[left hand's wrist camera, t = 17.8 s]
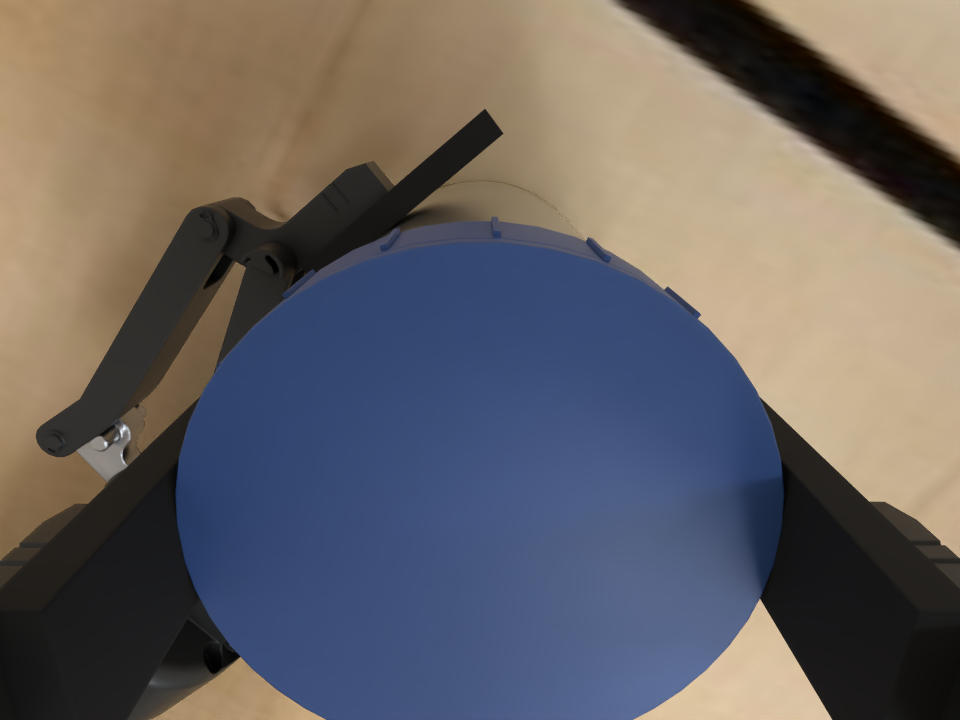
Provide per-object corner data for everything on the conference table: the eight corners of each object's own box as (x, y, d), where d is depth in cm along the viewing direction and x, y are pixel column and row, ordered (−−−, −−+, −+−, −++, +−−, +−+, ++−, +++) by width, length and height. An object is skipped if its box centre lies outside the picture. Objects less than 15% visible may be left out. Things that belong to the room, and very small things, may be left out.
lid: (846, 369, 11) (924, 421, 9) (575, 722, 15) (590, 817, 13) (340, 106, 10) (303, 100, 8) (161, 568, 13) (103, 650, 11)
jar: (345, 366, 26) (183, 652, 12) (398, 149, 23) (266, 180, 9) (548, 424, 27) (624, 750, 13) (626, 222, 24) (843, 358, 10)
